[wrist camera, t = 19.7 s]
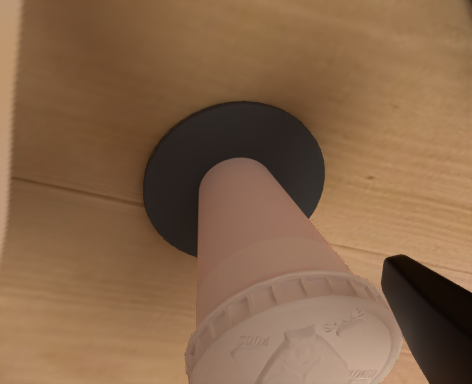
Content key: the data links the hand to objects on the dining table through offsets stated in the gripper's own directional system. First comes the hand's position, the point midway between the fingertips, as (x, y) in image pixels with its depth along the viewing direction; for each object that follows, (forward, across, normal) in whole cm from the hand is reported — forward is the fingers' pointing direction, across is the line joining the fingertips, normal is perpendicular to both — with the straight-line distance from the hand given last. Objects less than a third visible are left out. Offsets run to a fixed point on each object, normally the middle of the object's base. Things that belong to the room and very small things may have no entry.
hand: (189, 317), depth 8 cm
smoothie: (+10, -2, +4) cm, 11 cm away
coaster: (+10, -2, +4) cm, 11 cm away
